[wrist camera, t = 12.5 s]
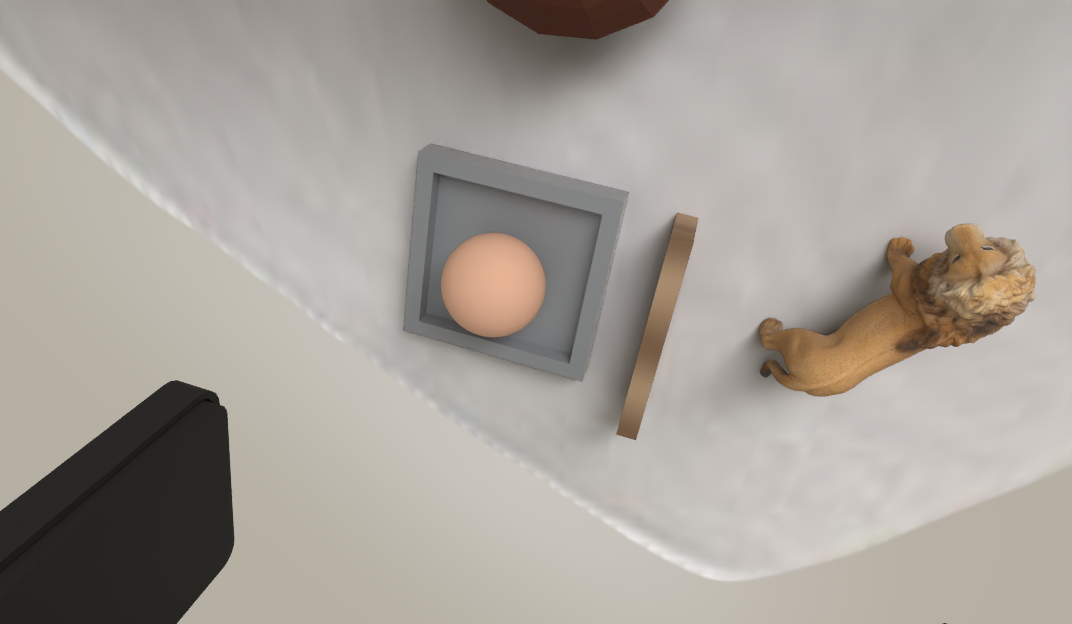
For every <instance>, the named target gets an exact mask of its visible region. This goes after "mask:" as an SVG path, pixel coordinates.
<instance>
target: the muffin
mask: <svg viewBox="0 0 1072 624" xmlns="http://www.w3.org/2000/svg"><path fill="white" fill-rule="evenodd" d="M668 1H669V0H487V2H488V3H490V4H492V5H493V6H495V7H496V8H498V9H500V10H501V11H503V12H504V13H506V14H508V15H509V16H511V17H513V18H514V19H516V20H517V21H519V22H521V23H522V24H524V25H525V26H527V27H529V28H530V29H532V30H533V31H535V32H537V33H538V34H547V35H557V36H567V37H577V38H588V39H599V38H602V37H604V36H607V35H609V34H612V33H614V32H617V31H619V30H622V29H624V28H627V27H629V26H632V25H634V24H637V23H640V22H642V21H645V20H647V19H650V18H652V17H654V16H655V15H656V14H657V13H658V11H659V10H660V9H661V8H662V7H663V6H664V5H665V4H666V3H667V2H668Z"/></svg>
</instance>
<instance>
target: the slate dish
mask: <svg viewBox="0 0 1072 624" xmlns="http://www.w3.org/2000/svg"><path fill="white" fill-rule="evenodd" d="M628 194H629V192H626V191H622V190H618V189H614V188H610V187H606V186H602V185H597V184H593V183H589V182H585V181H581V180H577V179H573V178H569V177H565V176H561V175H557V174H553V173H548V172H544V171H540V170H536V169H532V168H528V167H524V166H520V165H516V164H512V163H508V162H504V161H499V160H495V159H491V158H487V157H483V156H479V155H475V154H471V153H467V152H463V151H459V150H455V149H450V148H446V147H442V146H438V145H434V144H429V145H428V146H426V147H425V148H423V149H421V150H420V151H418V163H417V175H416V187H415V198H414V210H413V222H412V234H411V246H410V257H409V269H408V281H407V293H406V305H405V317H404V328H403V330H404V331H407V332H411V333H414V334H418V335H421V336H425V337H428V338H432V339H435V340H439V341H442V342H446V343H449V344H453V345H456V346H460V347H463V348H467V349H470V350H474V351H477V352H481V353H484V354H487V355H491V356H494V357H498V358H501V359H505V360H508V361H512V362H515V363H519V364H522V365H526V366H529V367H533V368H536V369H540V370H543V371H547V372H550V373H554V374H557V375H561V376H564V377H568V378H571V379H575V380H578V381H582V380H583V378H584V375H585V373H586V370H587V367H588V364H589V359H590V355H591V351H592V347H593V342H594V338H595V334H596V330H597V325H598V321H599V317H600V313H601V308H602V304H603V300H604V296H605V292H606V287H607V283H608V279H609V275H610V270H611V266H612V262H613V258H614V253H615V249H616V245H617V241H618V236H619V232H620V228H621V224H622V219H623V215H624V211H625V207H626V203H627V198H628ZM484 233H502V234H507V235H510V236H513V237H515V238H517V239H519V240H521V241H522V242H524V243H525V244H526V245H528V246H529V247H530V248H531V249H532V250H533V251H534V253H535V254H536V255H537V257H538V259H539V260H540V262H541V264H542V267H543V270H544V273H545V280H546V290H545V297H544V301H543V303H542V306H541V308H540V310H539V312H538V313H537V315H536V316H535V318H534V319H533V320H532V321H531V322H530V323H529V324H528V325H527V326H525V327H524V328H523V329H521V330H519V331H518V332H515V333H513V334H511V335H507V336H503V337H484V336H480V335H477V334H474V333H472V332H470V331H468V330H466V329H464V328H463V327H462V326H460V325H459V324H458V323H457V322H456V321H455V320H454V319H453V317H452V316H451V315H450V313H449V312H448V310H447V308H446V306H445V304H444V301H443V297H442V291H441V279H442V273H443V269H444V266H445V264H446V262H447V260H448V258H449V257H450V255H451V254H452V252H453V251H454V250H455V249H456V248H457V247H458V246H459V245H460V244H462V243H463V242H464V241H466V240H468V239H469V238H471V237H474V236H477V235H479V234H484Z"/></svg>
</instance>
